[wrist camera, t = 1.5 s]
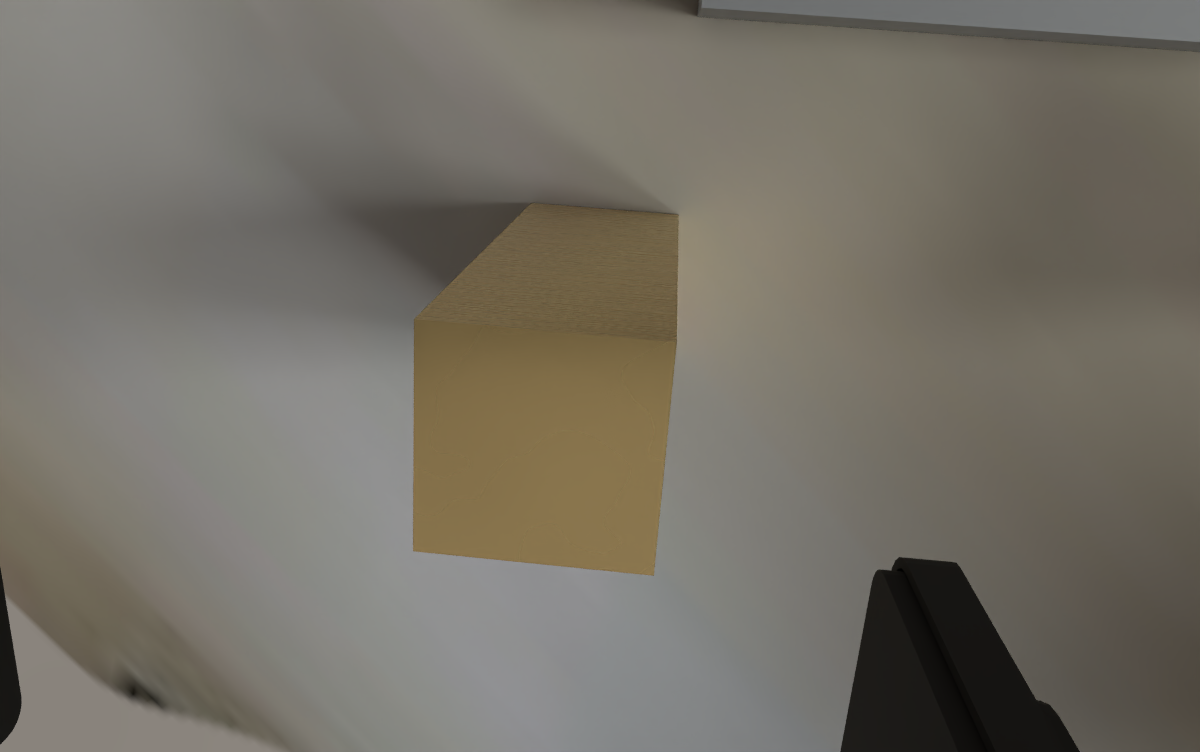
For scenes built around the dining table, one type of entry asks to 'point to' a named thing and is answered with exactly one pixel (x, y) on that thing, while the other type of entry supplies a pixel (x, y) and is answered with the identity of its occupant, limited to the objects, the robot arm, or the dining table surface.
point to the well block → (991, 18)
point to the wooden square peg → (549, 393)
